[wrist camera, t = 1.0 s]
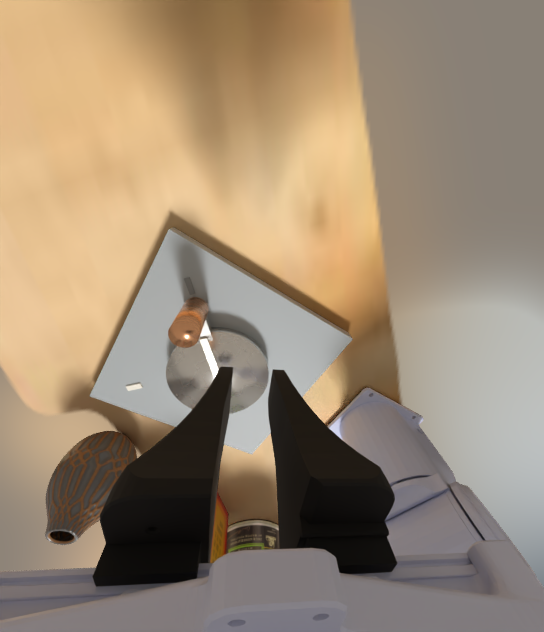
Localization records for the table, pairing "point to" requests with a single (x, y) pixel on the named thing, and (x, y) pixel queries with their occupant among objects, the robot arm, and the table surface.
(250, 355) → the dial
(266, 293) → the board
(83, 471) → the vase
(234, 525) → the coffee can
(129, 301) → the table surface
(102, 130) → the table surface
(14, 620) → the robot arm
